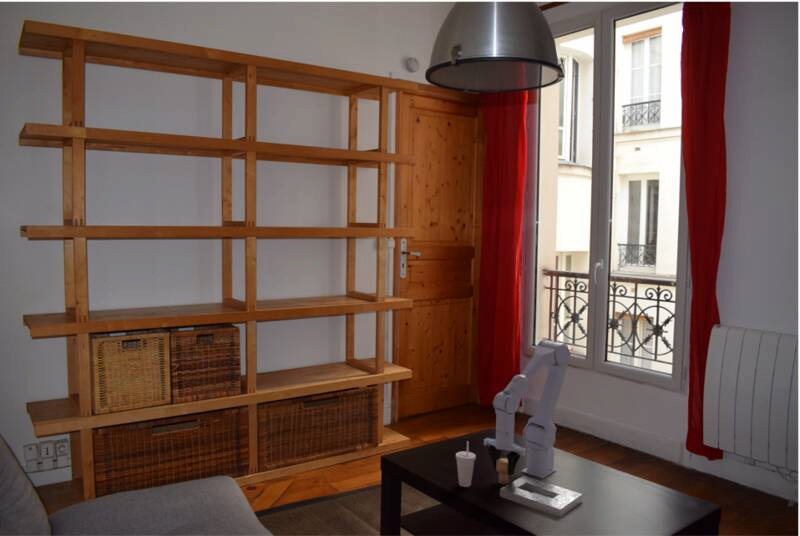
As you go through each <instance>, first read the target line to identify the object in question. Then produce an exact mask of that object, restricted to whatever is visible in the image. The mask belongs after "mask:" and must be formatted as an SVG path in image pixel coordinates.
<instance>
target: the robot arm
mask: <svg viewBox="0 0 800 536" xmlns="http://www.w3.org/2000/svg"><path fill="white" fill-rule="evenodd" d="M571 355H572V353H571V351H570V348H569V347H568V345H567V344H565V343H559V342H554V341H549V340H547V339H542V340H540V341H539V342H538V343H537V345H536V346H535V347H534V355H533V356H532V357H531V359H530V361H529V362H528V363H527V365H526V367H525V368H524V370H523V371H522V372H521V374H516V375H515V376H513V378H512V379H511V381H510V382H509V383H508V384H507V386H505V388H504V389H503V390H502V391H500V392H498V393H497V394H496V395H495V396H494V399H493V401H492V405H493V409H495V410H494V411H495V412H494V413H495V415H496V416H495V417H496V419H495V422H496V423H495V438H490V437H486V438H484V439H483V446H488V447H489V448H487V453H488V455H489V457H490V459H491V462H492V466H493V471H497V470H496V462H497V459H500V458H501V456H502V455H501V454H502V450H503V451H507V452H509V453H507V454H506V459H508V476H513V474H514V473H515V469H516V467H517V463H518V461H519V460H520V457H524V456H527V458H526V468H524V469H522V470H521V473H524V474H527V475H529V476H533V477H536V478H539V479H544V478H546V477H547V476H549V475H551V474H553V473H554V472H556V471H557V469H556V468H554V467H555V450H554V448H553V447H554V444H555V442H556V434H557V426H556V425H555V424H554V422H553V418H554V413H555V410H556V407H557V403H558V400H559V397H560V393H561V390H562V387H563V384H564V383H563V382H564V380H565V376H566V373H567V369H568V365H569V362H570V357H571ZM545 366H546V367H547V369H548V373H547V376H546V380H545V383H544V386H543V390H542V393H541V396H540V399H539V403H538V406H537V410H536V413H535V415H533V416H532V417H530V418H528V420H527V423H526V425H525V426H524V428H523V430H522V436H523V437H522V438H523V439H524V441H525V444H526V445H527V449H526V448H525V447H522V446H520V445H518V444H517V443H514V442H515V419H516V418H515V414H516V412H517V411H518V410H519V408H520V402H521V401H522V398H523V396H524V395H525V394H526V393H527V392H528V390H529V389H530V388H531V380H532V379H533V378H534V377H536V375H537V374H538V373H539V372H540V371H541V369H542V368H543V367H545Z"/></svg>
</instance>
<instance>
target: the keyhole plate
mask: <svg viewBox="0 0 800 536" xmlns="http://www.w3.org/2000/svg"><path fill="white" fill-rule="evenodd" d="M499 497H500V498H502V499H506V500H508V501H512V502H515V503H517V504H520V505H522V506H525V507H529V508H531V509H534V510H538V511H539V512H543V513H545V514H549V515H552V516H555V517H558V518H561V517H563V516H565V515H567V513H569V512H570V511H572V510H573V509H574V508H576V507H577V506H578V505H580V504H581V503H583V493H580V492H578V491H574V490H571V489H567V488H564V487H562V486H561V487H560V486H558V485H554V484H552V483H549V482H545V481H543V480H539V479H536V478H533V477H528V476H526V475H523V476H521V477H518V478H517V479H515V480H514V481H512V482H510V483H508V484H505V486H503V487H501V488H499Z"/></svg>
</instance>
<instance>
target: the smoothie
mask: <svg viewBox="0 0 800 536" xmlns="http://www.w3.org/2000/svg"><path fill="white" fill-rule="evenodd" d="M469 443H470V442H469V441H468V440H467V441H466V450H465V451H463V450H462V451H458V452H456V453H455V459H456V467H457V477H458V478H457V479H458V485H459V486H460V487H464V488H469V487H471V485H472V480H473V479H472V478H473V473H474V467H475V460H476V459H477V457H476V454H475V453H474V452H471V451H469V450H470V449H469V445H470V444H469Z"/></svg>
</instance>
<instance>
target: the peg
mask: <svg viewBox="0 0 800 536" xmlns="http://www.w3.org/2000/svg"><path fill="white" fill-rule="evenodd" d="M496 471H497V472H498V484H501V485H508V484H509V475H508V459H507V458H506V457H505V458H504V457H503V458H501V457H500V459H497V462H496Z"/></svg>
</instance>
